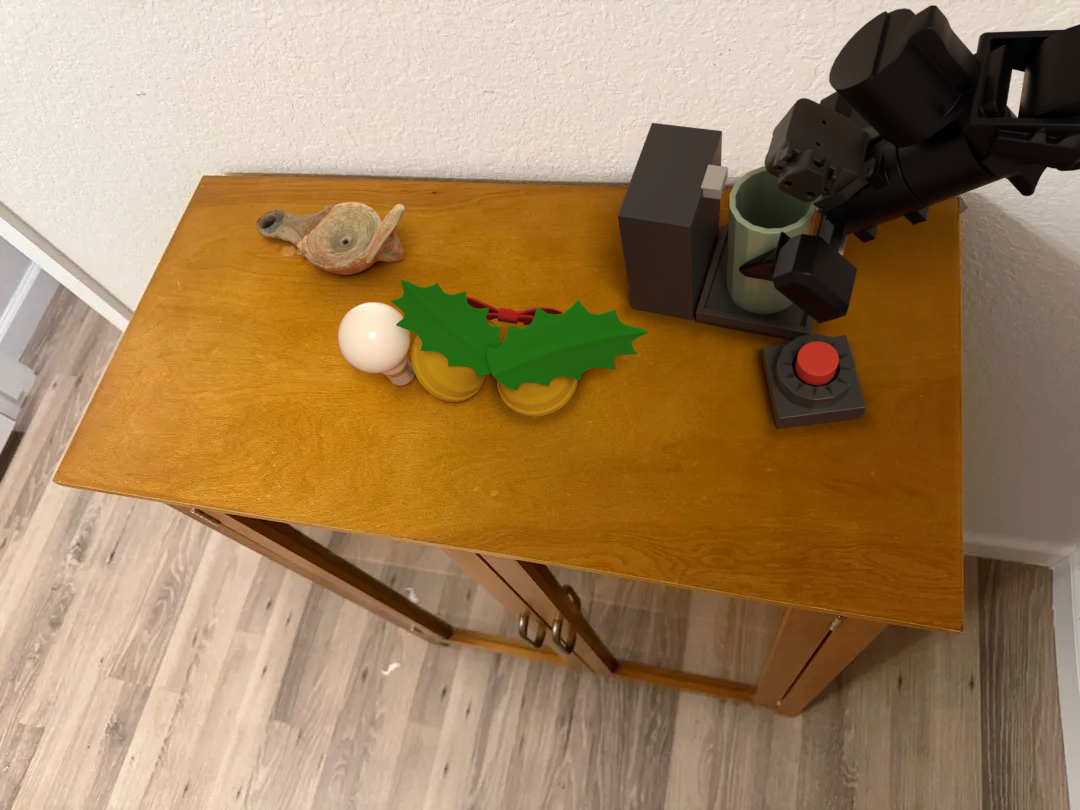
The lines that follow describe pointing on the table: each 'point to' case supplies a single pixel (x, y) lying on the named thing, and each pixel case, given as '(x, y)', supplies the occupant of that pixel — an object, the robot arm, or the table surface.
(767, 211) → the cup
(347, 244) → the oil lamp
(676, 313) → the coffee maker
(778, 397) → the button block
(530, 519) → the table surface
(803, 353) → the button
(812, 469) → the table surface
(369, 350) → the lightbulb
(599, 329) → the ornament
